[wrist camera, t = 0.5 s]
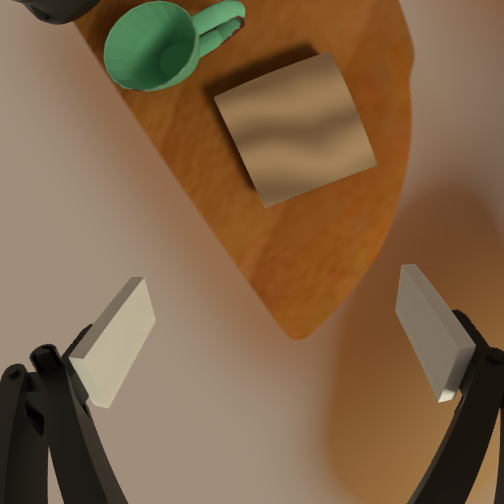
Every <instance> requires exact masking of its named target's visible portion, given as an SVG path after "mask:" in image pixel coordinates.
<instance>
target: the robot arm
mask: <svg viewBox="0 0 504 504" xmlns="http://www.w3.org/2000/svg"><path fill="white" fill-rule="evenodd" d="M13 1H17V2H21V3H23V4H24V5H25V6H26V7H27V8H28V9H29V10H30V11H31V12H32V14H34V15H35V17H37V18H38V19H40V20H41V21H43V22H47V23H50V24H57V25H59V24H65V23H69V22H71V21H73V20H76V19H78V18H79V17H81V16H82V15H84V14H85V13H87V12H88V11H89V10H91V9H92V8H93V7H94V6H95V5H96V4H97V3H98V2H99V1H100V0H13ZM395 312H396V314H397V316H398V318H399V320H400V322H401V324H402V326H403V328H404V330H405V332H406V334H407V336H408V338H409V340H410V342H411V344H412V346H413V348H414V350H415V352H416V354H417V356H418V359H419V361H420V363H421V365H422V367H423V369H424V372H425V374H426V376H427V378H428V380H429V383H430V385H431V387H432V390H433V392H434V394H435V396H436V399H437V401H438V402H443V401H447V400H451V399H454V398H455V396H456V394H457V392H458V389H460V391H461V393H462V398H461V400H460V402H459V404H458V406H457V408H456V410H455V412H454V413H455V414H454V416H453V418H452V421H451V423H450V425H449V427H448V430H447V432H446V434H445V436H444V438H443V440H442V442H441V444H440V446H439V448H438V450H437V452H436V454H435V456H434V458H433V460H432V462H431V464H430V466H429V467H428V469H427V471H426V473H425V475H424V476H423V478H422V480H421V482H420V483H419V485H418V486H417V488H416V490H415V491H414V493H413V495H412V496H411V498H410V500H409V501H408V503H407V504H465V502H466V500H467V498H468V496H469V493H470V491H471V489H472V487H473V484H474V482H475V479H476V477H477V475H478V472H479V469H480V467H481V464H482V462H483V459H484V456H485V454H486V451H487V448H488V445H489V442H490V439H491V435H492V432H493V429H494V426H495V422H496V419H497V415H498V412H499V408H500V411H501V413H500V414H501V427H500V453H499V466H498V476H497V485H496V493H495V500H494V504H504V351H502V350H500V349H498V348H493V347H489V345H488V344H487V343H486V341H485V340H484V338H483V337H482V336H481V334H480V333H479V331H478V330H477V329H476V327H475V326H474V325H473V324H472V322H471V321H470V319H469V318H468V317H467V315H465V314H464V313H462V312H461V311H459V310H450V308H449V307H448V306H447V304H446V303H445V302H444V300H443V299H442V298H441V297H440V295H439V294H438V292H437V291H436V290H435V289H434V287H433V286H432V285H431V284H430V282H429V281H428V280H427V278H426V277H425V276H424V275H423V273H422V272H421V271H420V270H419V268H418V267H417V266H416V265H415V264H409V265H402V266H401V273H400V282H399V289H398V296H397V303H396V309H395ZM155 321H156V320H155V316H154V313H153V309H152V305H151V302H150V298H149V295H148V290H147V287H146V283H145V279H144V277H132V278H131V279H130V280H129V281H128V282H127V284H126V285H125V286H124V287H123V288H122V290H121V291H120V292H119V293H118V294H117V296H116V297H115V298H114V299H113V301H112V302H111V303H110V304H109V305H108V307H107V308H106V309H105V310H104V312H103V313H102V314H101V315H100V317H99V318H98V319H97V320H96V322H95V323H94V324H90V325H89V326H87V327H86V328H84V329H83V330H82V331H81V332H80V334H79V335H78V336H77V338H76V339H75V340H74V341H73V344H71V345H70V346H69V348H68V349H67V350H66V352H65V353H64V354H63V355H62V357H60V355H59V353H58V351H57V348H56V347H55V346H54V345H52V344H46V345H42V346H40V347H38V348H36V349H35V350H34V351H33V352H32V353H31V355H30V360H31V362H32V364H33V366H34V368H35V370H36V371H37V372H29V373H28V372H27V370H26V368H25V367H24V365H22V364H14V365H11V366H10V367H8V368H7V369H6V370H5V371H4V373H3V375H2V378H1V381H0V504H48V496H47V495H48V490H47V489H48V487H47V485H48V484H47V483H48V481H47V476H48V447H49V448H50V453H51V457H52V462H53V466H54V470H55V473H56V477H57V481H58V484H59V488H60V491H61V495H62V498H63V501H64V504H128V502H127V500H126V498H125V496H124V494H123V492H122V490H121V488H120V486H119V483H118V481H117V479H116V477H115V475H114V473H113V470H112V468H111V466H110V464H109V461H108V459H107V456H106V454H105V451H104V449H103V447H102V444H101V441H100V439H99V436H98V433H97V431H96V428H95V426H94V422H93V419H92V417H91V414H90V411H89V407H88V406H87V404H86V400H87V399H88V397H90V399H91V401H92V402H93V404H94V405H95V406H101V407H105V408H109V407H110V405H111V403H112V401H113V399H114V397H115V395H116V393H117V392H118V390H119V388H120V386H121V384H122V382H123V380H124V378H125V376H126V374H127V372H128V371H129V369H130V367H131V365H132V363H133V361H134V359H135V358H136V356H137V354H138V352H139V350H140V348H141V347H142V345H143V343H144V341H145V339H146V338H147V336H148V334H149V332H150V330H151V328H152V327H153V325H154V323H155Z"/></svg>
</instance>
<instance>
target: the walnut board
mask: <svg viewBox="0 0 504 504" xmlns="http://www.w3.org/2000/svg"><path fill="white" fill-rule="evenodd" d="M214 100H215V102H216V104H217V106H218V108H219V110H220V112H221V114H222V116H223V119H224V121H225V123H226V125H227V127H228V129H229V131H230V133H231V136H232V138H233V140H234V142H235V144H236V146H237V149H238V151H239V153H240V155H241V157H242V159H243V162H244V164H245V166H246V168H247V170H248V173H249V175H250V177H251V179H252V181H253V184H254V186H255V188H256V190H257V192H258V195H259V197H260V199H261V201H262V204H263V206H264V208H267V207H269V206H272V205H274V204H277V203H279V202H282V201H285V200H287V199H290V198H292V197H295V196H297V195H300V194H302V193H305V192H307V191H310V190H313V189H315V188H318V187H320V186H323V185H326V184H328V183H331V182H333V181H336V180H339V179H341V178H344V177H347V176H349V175H352V174H355V173H357V172H360V171H363V170H365V169H368V168H371V167H374V166H376V165H377V162H376V159H375V157H374V154H373V151H372V148H371V145H370V143H369V140H368V137H367V135H366V132H365V129H364V127H363V124H362V122H361V119H360V117H359V114H358V112H357V109H356V107H355V104H354V102H353V100H352V97H351V95H350V93H349V90H348V88H347V86H346V84H345V81H344V79H343V77H342V75H341V73H340V70H339V68H338V66H337V64H336V62H335V60H334V58H333V56H332V54H331V52H330V51H329V52H326V53H323V54H320V55H317V56H314V57H311V58H308V59H305V60H302V61H300V62H297V63H294V64H291V65H289V66H286V67H283V68H281V69H278V70H275V71H273V72H270V73H268V74H265V75H263V76H260V77H258V78H256V79H253V80H251V81H249V82H246V83H244V84H242V85H239V86H237V87H235V88H233V89H230V90H228V91H226V92H224V93H222V94H220V95H217V96H215V97H214Z"/></svg>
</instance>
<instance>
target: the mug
mask: <svg viewBox="0 0 504 504" xmlns="http://www.w3.org/2000/svg"><path fill="white" fill-rule="evenodd" d="M216 26H217V27H216ZM244 26H245V7H244V5H243V4H242V3H241V2H240V1H236V0H223V1H221V2H218V3H216V4H214V5H211V6H209V7H207V8H206V9H204V10H202V11H200V12H198V13H197V14H195V15H193V16H190V15H189V14H188V12H187V11H186V10H185V9H184V8H182V7H180V6H178V5H176V4H175V3H171V2H165V1H153V2H147V3H143V4H141V5H139V6H137V7H134V8H132V9H131V10H129V11H128V12H127V13H125V14H124V15H123V16H122V17H121V18H119V20H118V21H117V22H116V23H115V25H114V26H113V27H112V29H111V30H110V32H109V35H108V37H107V40H106V42H105V46H104V56H103V58H104V63H105V67H106V71H107V72H108V74H109V75H110V77H111V79H112V80H113V81H114V82H115V83H117V84H118V85H120V86H121V87H122V88H125V89H130V90H135V91H144V92H145V91H156V90H160V89H164V88H167V87H169V86H172V85H175V84H178V83H180V82H181V81H182V80H184V79H185V78H187V77H188V76H190V75H191V73H192V72H193V71H194V70H195V68H196V66H197V64H198V61H199V58H200V57H202V56H204V55H205V54H207V53H208V52H210V51H212V50H213V49H215V48H216V47H218V46H220V45H221V44H223V43H225V42H226V41H227V40H229V39H230V38H231V37H232V36H233V35H234V34H236V33H237V32H238V31H239V30H240V29H242V28H243V27H244ZM214 27H215V28H214ZM212 28H214V29H212ZM210 29H212V30H211V31H209V32H208V33H206V34H205V35H203V36H202V37H200V38H199V35H201V34H203V33H205V32H207V31H208V30H210Z"/></svg>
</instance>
